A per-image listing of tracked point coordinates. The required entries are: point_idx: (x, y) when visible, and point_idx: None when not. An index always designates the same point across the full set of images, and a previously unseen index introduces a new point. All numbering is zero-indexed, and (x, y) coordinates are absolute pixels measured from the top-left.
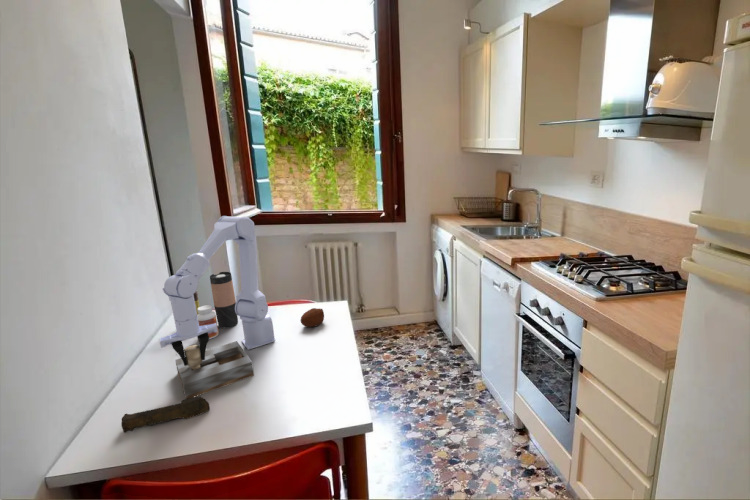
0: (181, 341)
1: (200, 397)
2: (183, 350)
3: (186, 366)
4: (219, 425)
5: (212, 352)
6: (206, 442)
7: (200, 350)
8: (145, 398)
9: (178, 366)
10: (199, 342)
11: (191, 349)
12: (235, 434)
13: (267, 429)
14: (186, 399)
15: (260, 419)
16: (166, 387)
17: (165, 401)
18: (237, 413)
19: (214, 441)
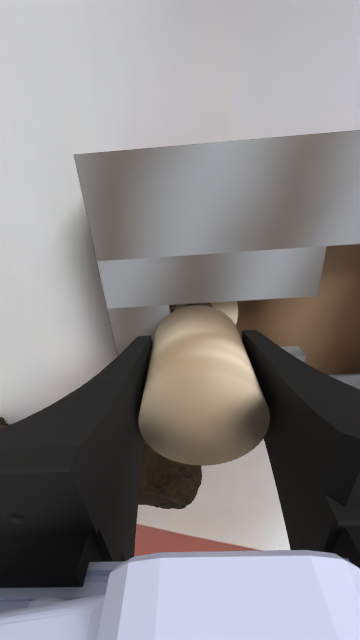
0: (107, 551)
1: (184, 507)
2: (134, 508)
3: (151, 306)
4: (208, 502)
5: (332, 213)
6: (177, 522)
7: (259, 378)
8: (2, 312)
9: (106, 278)
10: (289, 459)
11: (198, 435)
12: (228, 528)
13: (280, 540)
14: (145, 494)
15: (283, 520)
16: (69, 278)
17: (81, 367)
18: (252, 492)
19: (190, 526)
